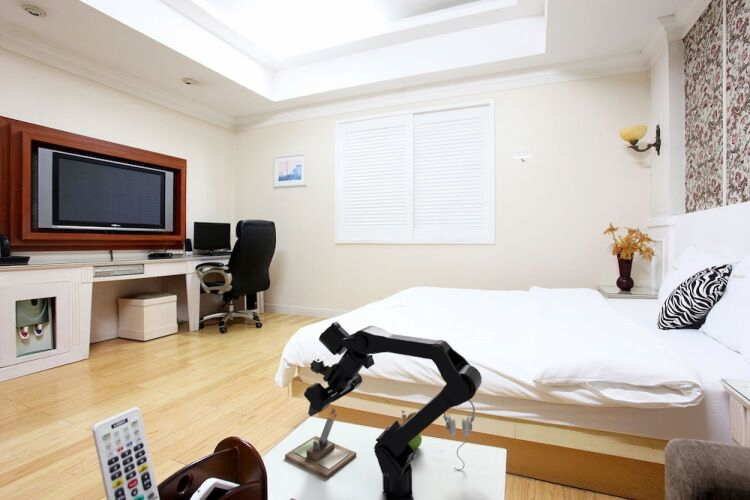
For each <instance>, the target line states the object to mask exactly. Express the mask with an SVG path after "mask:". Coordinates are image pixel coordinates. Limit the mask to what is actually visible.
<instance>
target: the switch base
mask: <svg viewBox="0 0 750 500" xmlns="http://www.w3.org/2000/svg"><path fill="white" fill-rule="evenodd" d="M320 437H321V436H317V435H314V436H313V437H311V438H310V439H308V440H306V441H304V443H302V444H300V445H298V446H297V447H295V448H293V449H292V450H290V451H288V452H286V453H285V454H284V459H286V460H289V461H290V462H292V463H294V464H296V465H298V466H300V467H302V468H304V469H306V470H308V471H310V472H312V473H314V474H316V475H318V476H320V477H322V478H324V479H326V480H328V479H329V478H330V477H332V476H333V475H334V474H336V473H337V472H338V471H339V470H341V469H342V468H343V467H344V466H346V465H347V464H348V463H350V461H352V460H353V459H355V457H357V452H355V451H353V450H350V449H348V448H346V447H344V446H341V445H339V444H336V443H335V442H332V441H330V440H329V439H327V441H326V443H325V445H324V446H323V447H321V448H320V442H319V440H320Z"/></svg>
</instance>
